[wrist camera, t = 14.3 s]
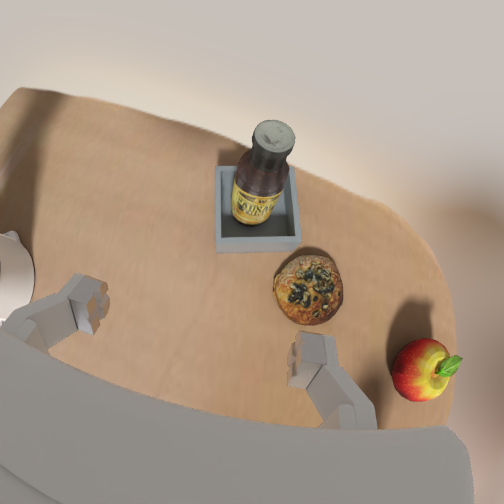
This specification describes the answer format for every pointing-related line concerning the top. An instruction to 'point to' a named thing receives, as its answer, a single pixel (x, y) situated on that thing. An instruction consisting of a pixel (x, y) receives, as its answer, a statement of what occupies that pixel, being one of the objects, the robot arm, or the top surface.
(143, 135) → the top surface
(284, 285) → the bread roll
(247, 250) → the bin
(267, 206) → the sauce bottle
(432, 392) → the fruit
